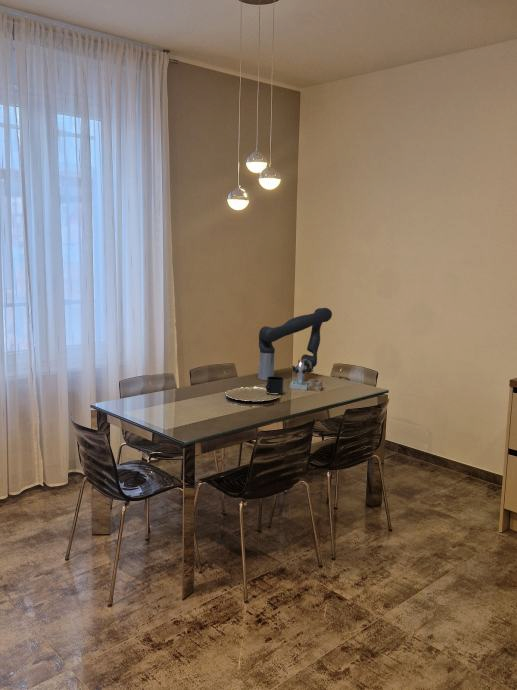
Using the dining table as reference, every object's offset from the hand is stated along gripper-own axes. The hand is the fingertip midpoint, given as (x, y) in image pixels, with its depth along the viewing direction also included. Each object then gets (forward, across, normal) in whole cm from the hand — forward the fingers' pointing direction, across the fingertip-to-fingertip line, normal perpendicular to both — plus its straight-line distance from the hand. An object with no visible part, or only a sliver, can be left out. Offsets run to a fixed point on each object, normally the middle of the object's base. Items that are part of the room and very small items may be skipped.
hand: (299, 371), depth 371 cm
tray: (-3, 0, +10) cm, 11 cm away
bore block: (-3, +9, +10) cm, 14 cm away
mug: (+17, -12, +10) cm, 24 cm away
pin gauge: (-3, 0, +9) cm, 9 cm away
